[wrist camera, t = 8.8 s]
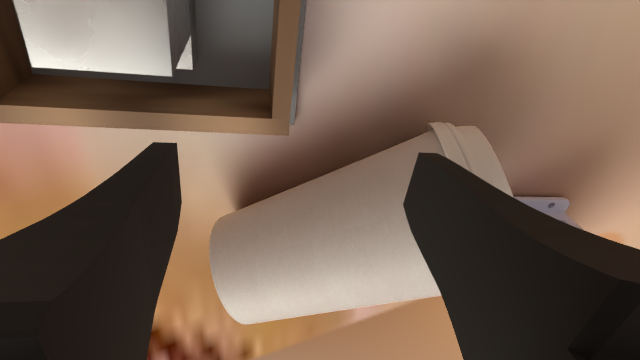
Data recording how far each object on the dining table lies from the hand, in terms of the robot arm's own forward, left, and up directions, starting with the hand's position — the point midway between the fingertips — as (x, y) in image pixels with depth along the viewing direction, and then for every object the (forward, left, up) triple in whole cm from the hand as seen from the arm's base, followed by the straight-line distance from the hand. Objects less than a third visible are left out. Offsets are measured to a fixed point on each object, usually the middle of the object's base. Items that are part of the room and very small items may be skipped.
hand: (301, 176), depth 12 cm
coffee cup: (+2, +12, -7) cm, 14 cm away
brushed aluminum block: (+6, -2, -10) cm, 12 cm away
